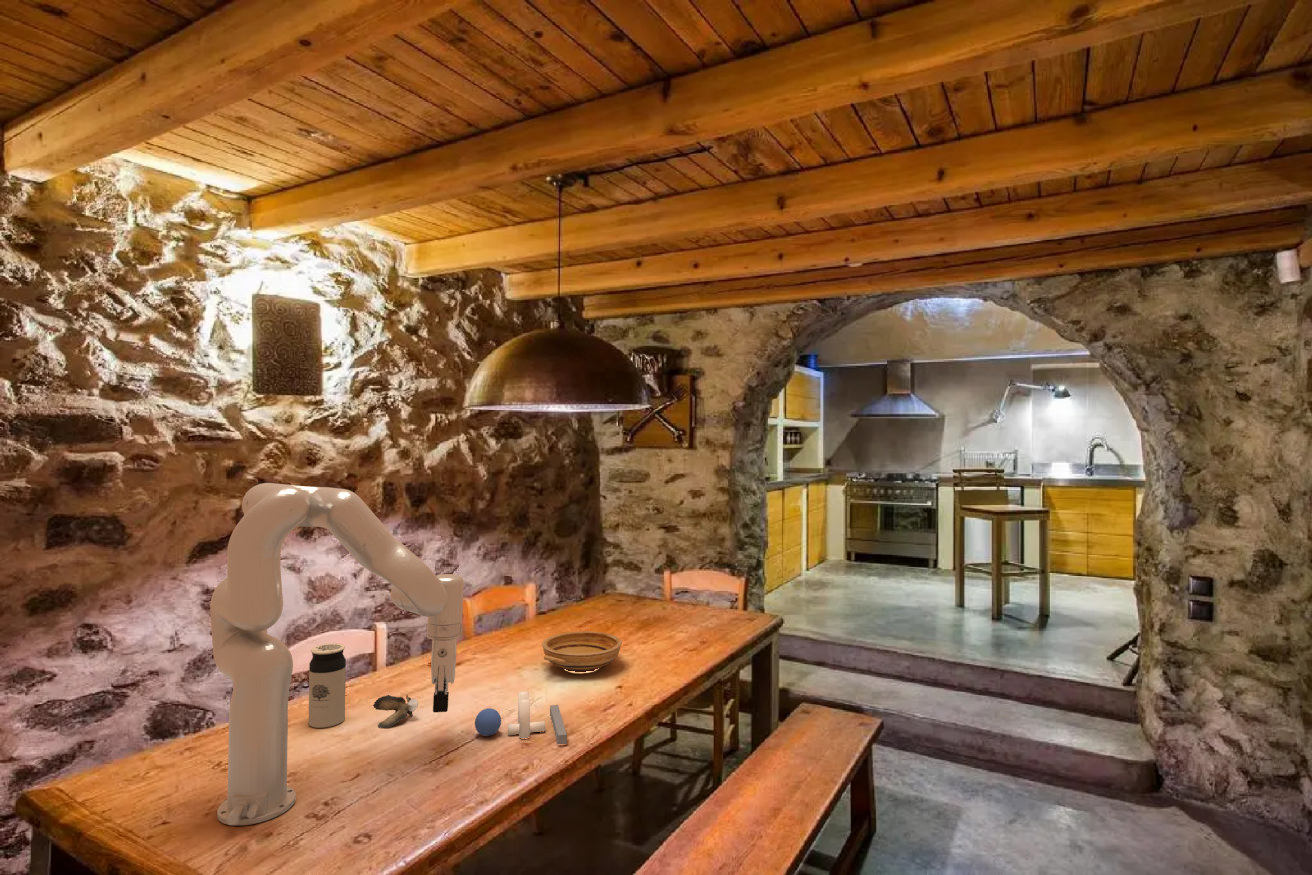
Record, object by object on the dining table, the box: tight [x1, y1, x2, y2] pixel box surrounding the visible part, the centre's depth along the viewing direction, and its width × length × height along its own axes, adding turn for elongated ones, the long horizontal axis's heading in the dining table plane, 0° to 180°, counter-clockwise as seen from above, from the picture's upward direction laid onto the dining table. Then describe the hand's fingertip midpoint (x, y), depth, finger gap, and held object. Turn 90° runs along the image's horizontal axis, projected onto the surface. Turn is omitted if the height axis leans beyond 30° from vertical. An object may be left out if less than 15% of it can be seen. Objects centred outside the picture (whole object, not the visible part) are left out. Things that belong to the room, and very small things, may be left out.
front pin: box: [507, 720, 546, 736], centre depth 160 cm, size 2×2×8 cm
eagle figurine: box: [372, 694, 419, 729], centre depth 166 cm, size 8×7×9 cm
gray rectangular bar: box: [549, 704, 568, 744], centre depth 162 cm, size 18×2×2 cm, turn 15°
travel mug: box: [308, 643, 347, 729], centre depth 165 cm, size 8×8×18 cm
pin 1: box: [517, 690, 530, 724], centre depth 162 cm, size 2×2×8 cm
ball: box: [474, 707, 502, 737], centre depth 159 cm, size 6×6×6 cm
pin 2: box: [518, 699, 531, 739], centre depth 158 cm, size 2×2×8 cm
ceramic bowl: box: [541, 630, 623, 672], centre depth 207 cm, size 30×24×8 cm
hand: (440, 710), depth 155 cm, fingers closed
